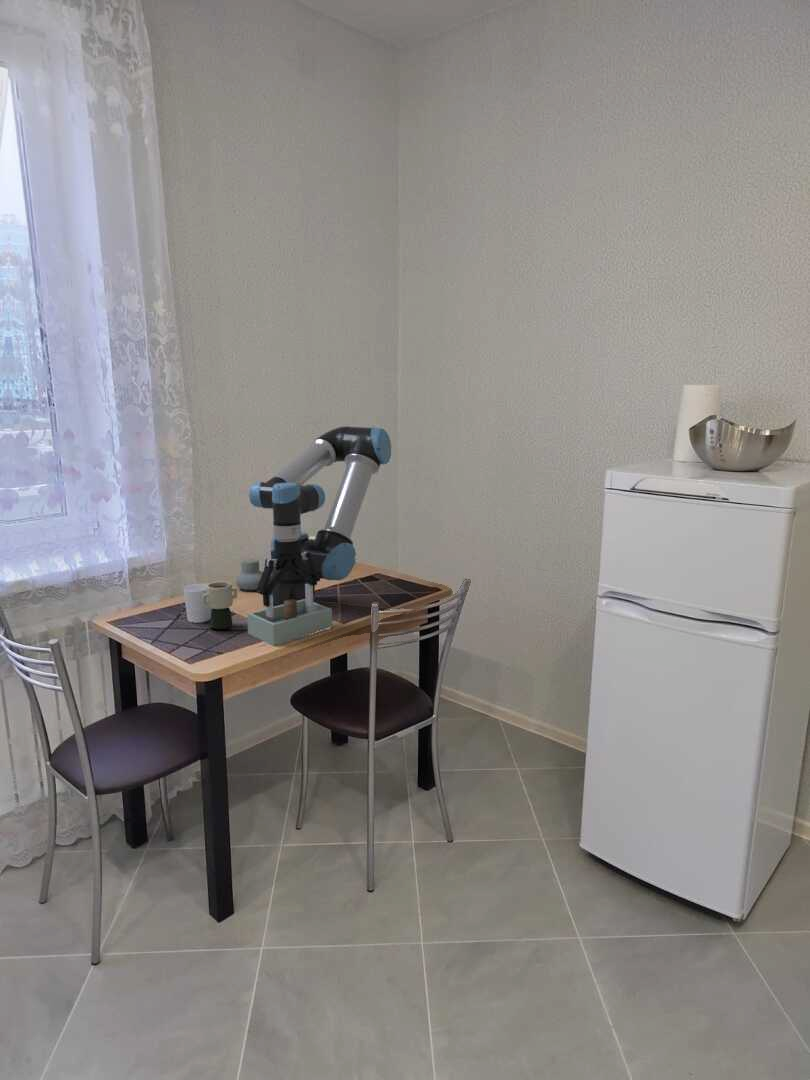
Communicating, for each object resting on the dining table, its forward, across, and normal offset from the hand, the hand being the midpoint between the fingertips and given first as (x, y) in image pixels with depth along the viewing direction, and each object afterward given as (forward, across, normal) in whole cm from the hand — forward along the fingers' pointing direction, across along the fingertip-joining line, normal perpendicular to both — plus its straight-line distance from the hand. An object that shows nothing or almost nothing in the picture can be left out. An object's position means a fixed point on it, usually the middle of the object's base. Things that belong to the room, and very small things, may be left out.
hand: (290, 611), depth 203 cm
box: (+6, 0, 0) cm, 6 cm away
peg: (+6, 0, 0) cm, 6 cm away
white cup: (+6, -14, +27) cm, 31 cm away
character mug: (+6, -13, +16) cm, 22 cm away
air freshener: (+6, +15, +44) cm, 47 cm away
